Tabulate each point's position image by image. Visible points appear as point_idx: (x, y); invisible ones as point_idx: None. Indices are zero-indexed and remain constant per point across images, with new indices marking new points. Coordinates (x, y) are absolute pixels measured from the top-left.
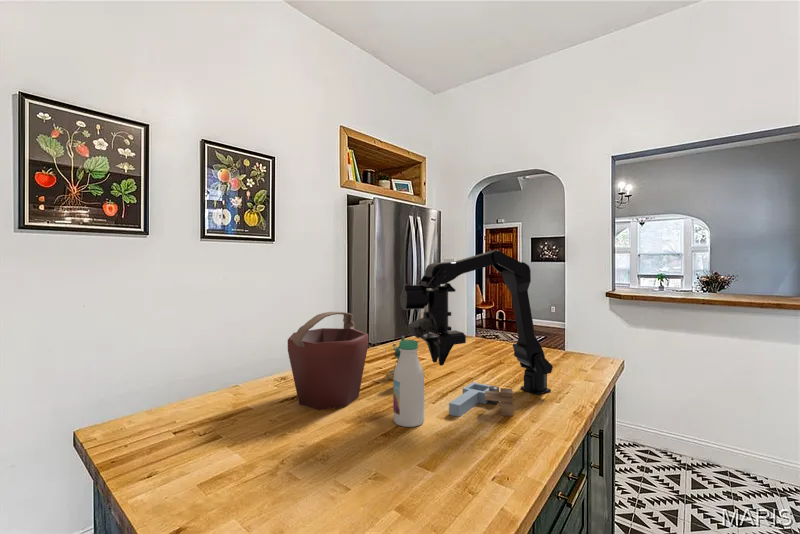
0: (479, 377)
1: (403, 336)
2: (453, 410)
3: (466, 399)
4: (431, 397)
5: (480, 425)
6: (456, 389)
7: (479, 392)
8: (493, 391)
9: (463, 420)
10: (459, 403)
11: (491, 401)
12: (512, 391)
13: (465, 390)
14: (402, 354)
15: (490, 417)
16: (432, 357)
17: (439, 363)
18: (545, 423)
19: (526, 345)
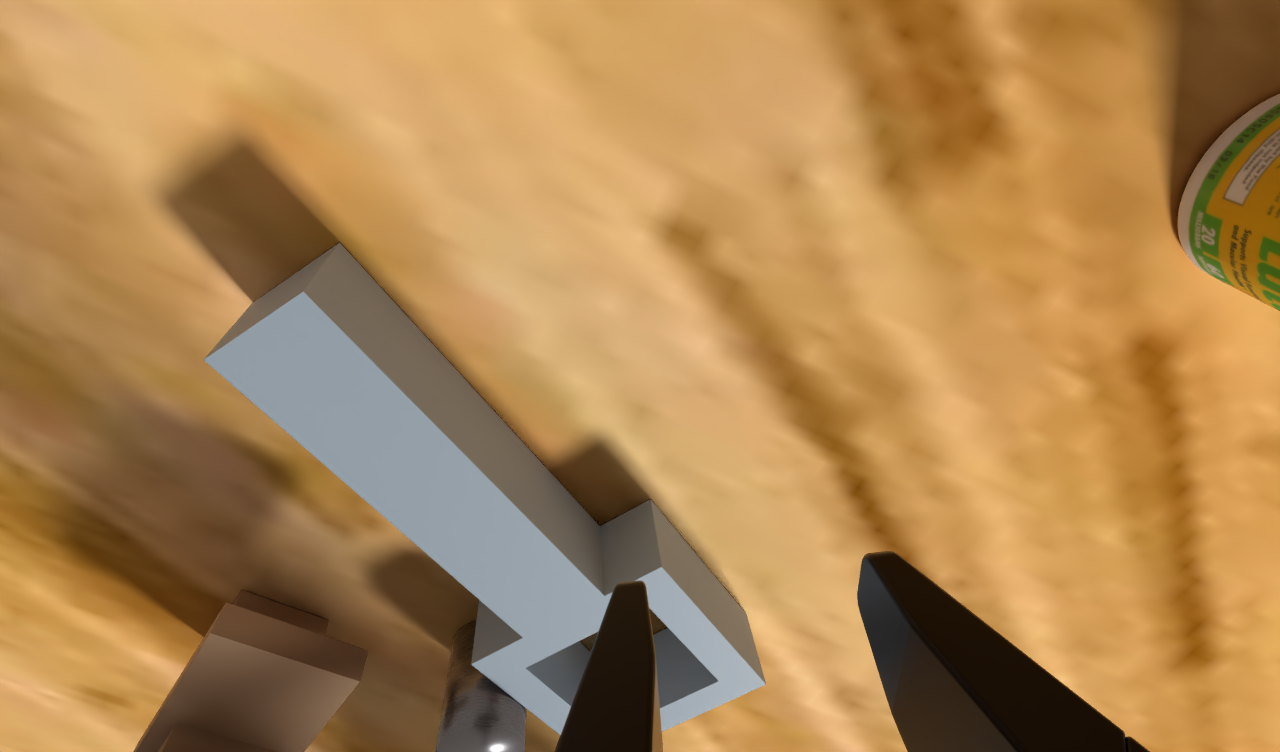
0: None
1: None
2: (283, 289)
3: (364, 485)
4: (820, 278)
5: (37, 380)
6: (863, 541)
7: (518, 637)
8: (324, 724)
9: (168, 300)
10: (262, 383)
11: (467, 637)
12: None
13: (635, 570)
14: None
15: (207, 514)
16: (921, 620)
17: (625, 604)
18: (60, 733)
19: None
